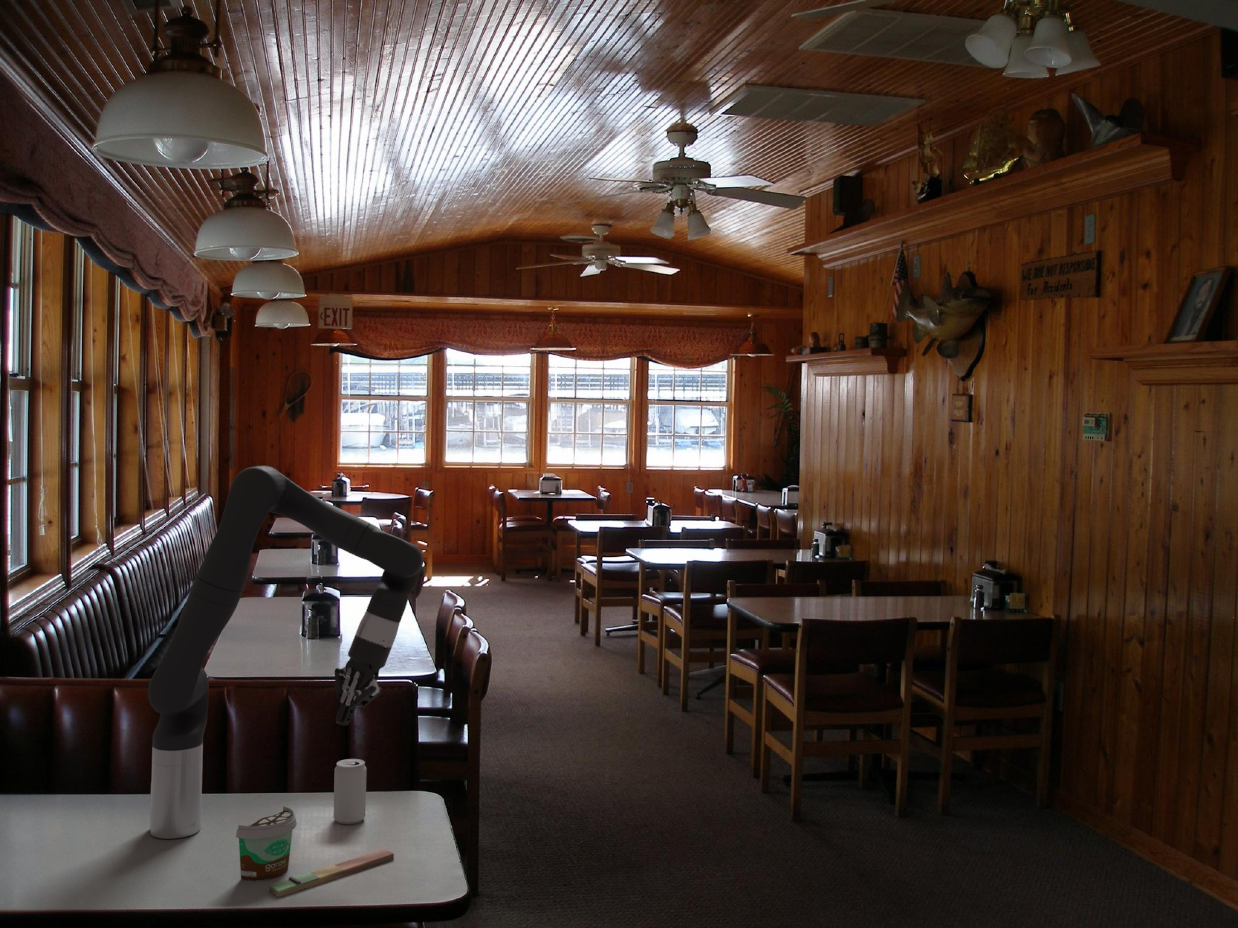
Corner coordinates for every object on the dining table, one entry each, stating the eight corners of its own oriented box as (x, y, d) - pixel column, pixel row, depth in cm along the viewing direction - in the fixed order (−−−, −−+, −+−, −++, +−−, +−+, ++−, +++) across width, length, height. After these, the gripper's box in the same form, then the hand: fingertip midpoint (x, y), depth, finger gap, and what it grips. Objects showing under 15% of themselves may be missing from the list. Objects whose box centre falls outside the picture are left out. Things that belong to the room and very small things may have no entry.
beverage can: (356, 826, 216) (358, 768, 216) (327, 823, 217) (329, 765, 217) (370, 816, 222) (372, 759, 222) (341, 813, 224) (343, 756, 223)
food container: (261, 889, 185) (262, 831, 185) (234, 881, 188) (236, 825, 188) (310, 864, 196) (311, 810, 196) (284, 858, 199) (285, 805, 199)
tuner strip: (269, 891, 184) (269, 883, 184) (384, 854, 202) (384, 846, 202) (278, 896, 182) (278, 888, 182) (393, 859, 200) (393, 851, 200)
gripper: (339, 625, 211) (306, 710, 208) (381, 644, 203) (347, 733, 200) (367, 633, 217) (335, 715, 214) (409, 652, 208) (376, 737, 206)
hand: (341, 723), depth 207 cm, fingers closed
